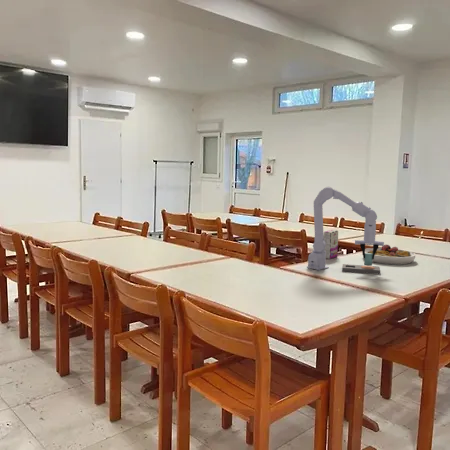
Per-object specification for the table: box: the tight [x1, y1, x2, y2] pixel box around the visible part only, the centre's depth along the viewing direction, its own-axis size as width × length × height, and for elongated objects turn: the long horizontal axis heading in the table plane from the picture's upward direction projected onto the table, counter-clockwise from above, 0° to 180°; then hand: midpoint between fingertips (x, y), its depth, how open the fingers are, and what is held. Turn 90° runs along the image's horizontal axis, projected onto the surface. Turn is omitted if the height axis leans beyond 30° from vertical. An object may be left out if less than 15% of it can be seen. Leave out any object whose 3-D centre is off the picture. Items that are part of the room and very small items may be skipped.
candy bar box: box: [323, 229, 339, 260], centre depth 275 cm, size 11×5×16 cm, turn 143°
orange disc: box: [361, 265, 375, 269], centre depth 239 cm, size 7×7×1 cm
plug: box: [363, 253, 373, 266], centre depth 239 cm, size 4×4×6 cm
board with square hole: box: [341, 263, 381, 275], centre depth 240 cm, size 19×10×2 cm, turn 74°
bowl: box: [361, 244, 416, 265], centre depth 271 cm, size 30×30×8 cm
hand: (368, 258), depth 239 cm, fingers closed on plug, 4 cm apart
